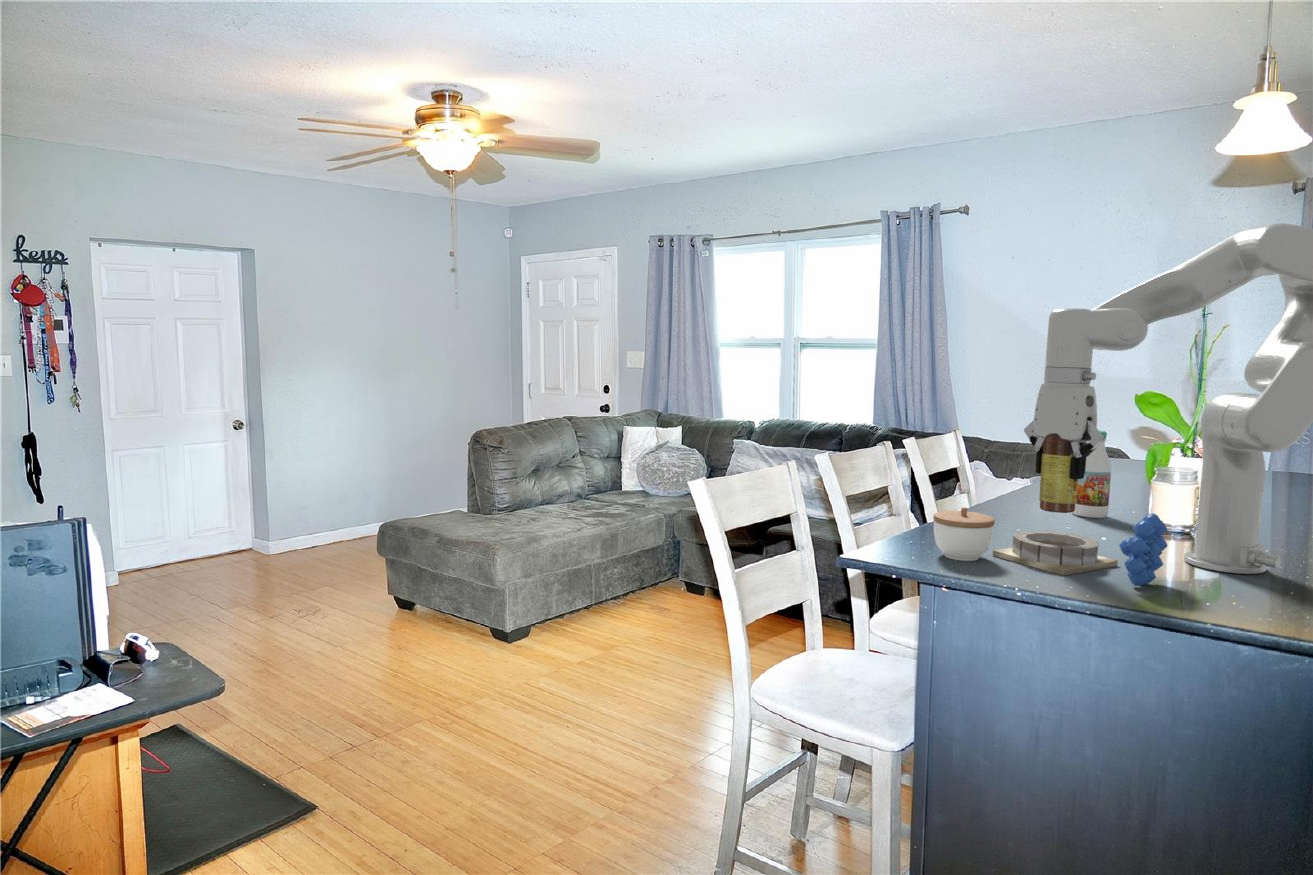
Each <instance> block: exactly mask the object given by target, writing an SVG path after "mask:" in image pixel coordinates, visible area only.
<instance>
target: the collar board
mask: <svg viewBox="0 0 1313 875" xmlns="http://www.w3.org/2000/svg"><path fill="white" fill-rule="evenodd" d="M992 557H996V558H1000V559H1004V560H1007V561H1011V562H1013V563H1018V564H1022V565H1025V566H1028V567H1032V568H1036V569H1038V570H1043V571H1045V572H1049V573H1053V574H1057V575H1060V576H1062V577H1063V576H1069V575H1074V574H1081V573H1085V572H1090V571H1096V570H1103V569H1106V568H1107V569H1108V568H1112V567H1113V568H1114V567H1118V566H1119V565H1118V564H1119V563H1118V562H1119V560H1117V559H1113V558H1109V557H1106V556H1102V555H1099V542H1098V541H1095V540H1094V539H1092V538H1089V537H1087V536H1083V535H1077V534H1075V533H1074V534H1073V533H1068V532H1058V531H1049V530H1026V531H1024V530H1023V531H1018V532H1015V533H1014V535H1013V537H1012V547H1007V548H1000V549H994V550H992Z"/></svg>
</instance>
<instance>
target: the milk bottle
mask: <svg viewBox="0 0 1313 875" xmlns="http://www.w3.org/2000/svg"><path fill="white" fill-rule="evenodd" d="M1099 432H1100V433H1101V434H1102V435H1103V437H1104V438H1105V440H1104V442H1102V443H1101V444H1100V445H1099V446H1098V447H1097V448H1096V449H1095V450H1094V451H1093V452H1092V453H1091V454H1090V456H1089V457H1086V468H1085V474H1084V478H1083V479H1078V488H1077V503H1075V511H1074V512H1071V514H1072V515H1074V516H1078V517H1084V518H1092V519H1093V518H1095V519H1104V518H1107V517H1108V513H1109V505H1110V492H1111V491H1110V490H1111V480H1112V464H1111V460H1110V458H1109V455H1108V453H1107V450H1106V445H1105V443H1106V442H1107V434H1108V433H1107V431H1105V430H1099ZM1089 442H1090V441H1087V443H1089Z"/></svg>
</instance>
